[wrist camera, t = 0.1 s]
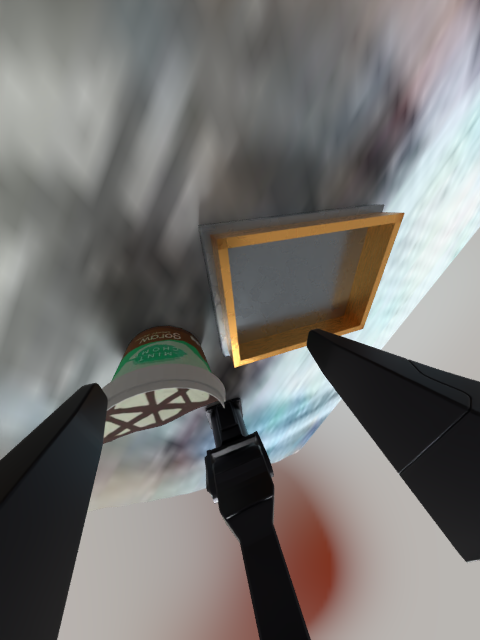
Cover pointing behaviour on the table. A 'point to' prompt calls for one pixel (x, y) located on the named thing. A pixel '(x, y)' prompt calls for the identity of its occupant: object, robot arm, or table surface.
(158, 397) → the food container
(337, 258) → the wooden tray
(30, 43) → the table surface
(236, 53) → the table surface
